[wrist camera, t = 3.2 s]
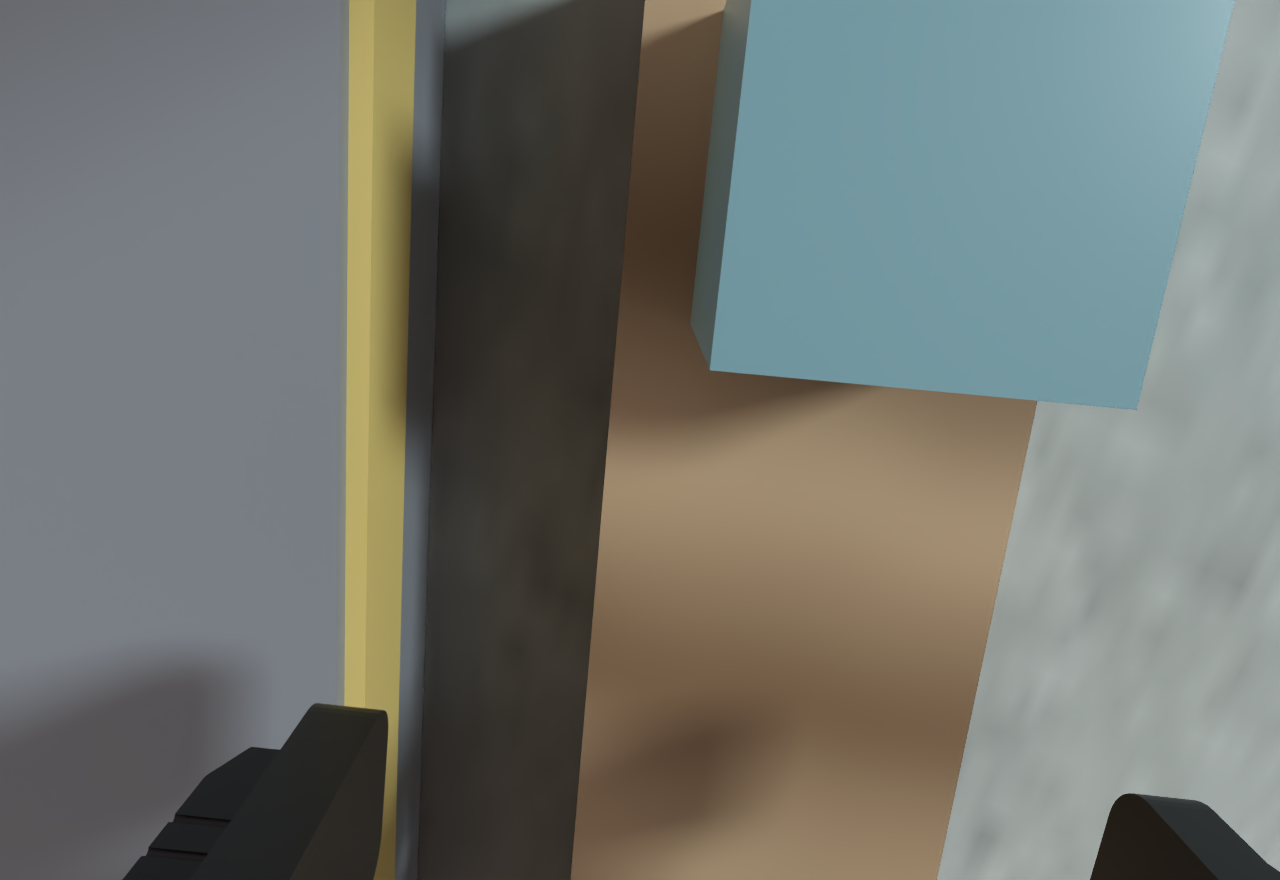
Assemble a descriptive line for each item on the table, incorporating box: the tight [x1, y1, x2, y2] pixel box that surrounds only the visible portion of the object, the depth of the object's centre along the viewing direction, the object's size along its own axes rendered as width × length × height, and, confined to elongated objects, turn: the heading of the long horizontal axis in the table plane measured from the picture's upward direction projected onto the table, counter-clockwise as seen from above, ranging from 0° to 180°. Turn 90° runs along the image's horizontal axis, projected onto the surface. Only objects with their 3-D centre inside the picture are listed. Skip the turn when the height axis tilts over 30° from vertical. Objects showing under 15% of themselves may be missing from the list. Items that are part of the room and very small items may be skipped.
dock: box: [0, 0, 446, 880], centre depth 14 cm, size 9×23×5 cm, turn 175°
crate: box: [690, 0, 1235, 410], centre depth 9 cm, size 4×4×4 cm
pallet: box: [571, 0, 1037, 880], centre depth 15 cm, size 21×6×4 cm, turn 175°
